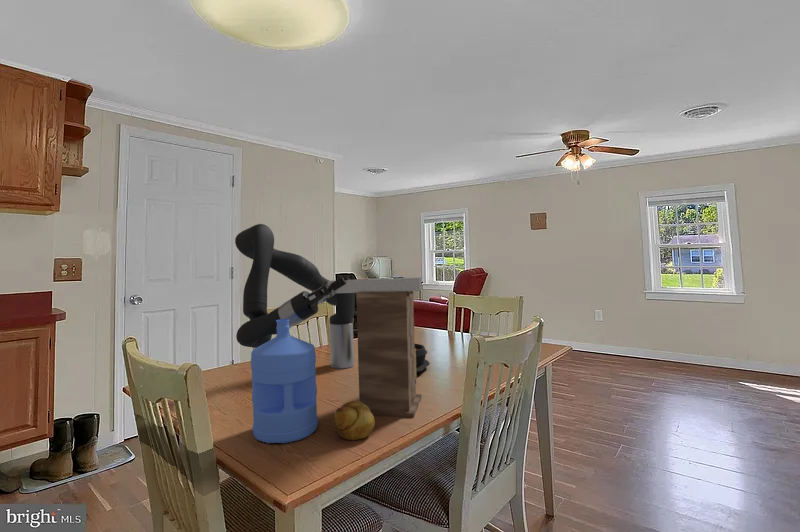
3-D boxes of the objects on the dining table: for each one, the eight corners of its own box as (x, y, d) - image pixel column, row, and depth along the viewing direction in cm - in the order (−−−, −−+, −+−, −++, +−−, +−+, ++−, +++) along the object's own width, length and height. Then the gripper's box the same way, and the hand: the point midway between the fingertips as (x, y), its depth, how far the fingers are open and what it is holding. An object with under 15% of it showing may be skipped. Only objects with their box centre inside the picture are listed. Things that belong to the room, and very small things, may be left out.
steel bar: (327, 292, 117) (326, 280, 117) (421, 289, 112) (421, 277, 112) (322, 293, 114) (321, 281, 114) (419, 290, 108) (419, 278, 108)
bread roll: (337, 422, 105) (337, 392, 105) (374, 420, 106) (374, 390, 106) (333, 444, 92) (332, 410, 92) (375, 442, 93) (374, 408, 93)
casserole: (381, 361, 167) (381, 341, 166) (426, 359, 167) (425, 339, 167) (381, 379, 142) (380, 355, 142) (433, 377, 142) (433, 353, 142)
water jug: (251, 425, 104) (247, 318, 104) (311, 414, 111) (308, 313, 110) (255, 451, 90) (250, 327, 90) (324, 437, 96) (320, 321, 96)
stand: (367, 395, 125) (364, 288, 124) (421, 397, 122) (418, 287, 121) (352, 414, 110) (349, 292, 109) (413, 417, 107) (410, 292, 106)
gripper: (280, 300, 111) (331, 269, 108) (302, 295, 125) (347, 268, 122) (293, 324, 110) (344, 293, 107) (314, 316, 124) (359, 289, 121)
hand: (346, 280), depth 114 cm, fingers closed on steel bar, 3 cm apart
